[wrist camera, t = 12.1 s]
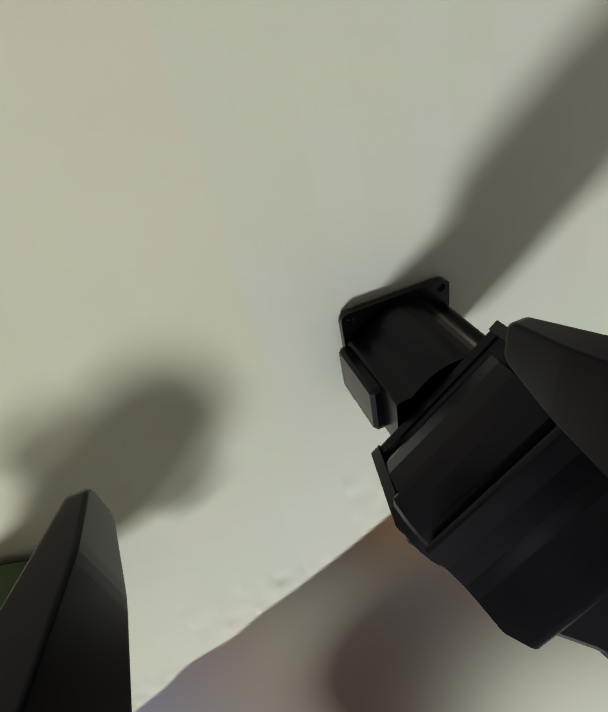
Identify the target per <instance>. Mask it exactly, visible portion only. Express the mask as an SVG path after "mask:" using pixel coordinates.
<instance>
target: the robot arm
mask: <svg viewBox="0 0 608 712" xmlns="http://www.w3.org/2000/svg"><path fill="white" fill-rule="evenodd" d="M440 284H441V286H440V287H439V288H438V286H439V285H440ZM437 288H438V289H437ZM349 317H351V319H350V320H349V321H348V322H346V320H347V319H348V318H349ZM339 326H340V332H341V338H342V344H343V348H341V349H340V352H339V356H340V361H341V367H342V373H343V378H344V383H345V385H346V387H347V388H348V390H349V391H350V393H351V395H352V397H353V398H354V400H356V402H357V403H358V405H359V406H360V408H361V409H362V411H363V412H364V414H365V415H366V417H367V418H368V420H369V421H370V423H371V424H372V426H373V427H375V428H377V429H380V428H383V427H385V428H386V429H387V431H388V432H389V433H390V435H391V436H390V437H389V438H388V439H387V440H386V441H385V442H384V443H383V444H382V445H381V446H378V447H377V448H376V449H375V450H374V451H373V452H372V453H371V454H372V457H373V460H374V463H375V466H376V469H377V472H378V475H379V478H380V481H381V484H382V487H383V490H384V493H385V496H386V499H387V502H388V505H389V508H390V511H391V513H392V516H393V519H394V522H395V525H396V527H397V528H398V529H399V530H400V531H401V532H402V533H403V534H404V536H405V538H406V540H407V541H408V542H409V543H410V544H411V545H412V546H415V547H416V548H417V549H418V550H419V551H420V552H421V553H422V554H424V555H425V556H426V557H428V558H429V559H430V560H431V561H433V562H435V563H436V564H438V565H440V566H442V567H445V568H446V569H447V570H448V571H449V572H450V573H451V574H452V575H453V576H454V577H456V579H457V580H458V581H459V582H461V583H462V585H464V586H465V588H466V589H467V590H468V591H469V592H470V593H471V594H472V596H473V597H474V598H475V599H476V600H477V601H478V602H479V604H480V605H481V606H482V607H483V609H484V610H485V611H486V612H487V613H488V614H489V616H490V617H491V618H492V619H493V621H494V622H495V623H496V624H497V625H498V627H499V628H500V629H501V630H502V631H503V632H504V633H505V634H507V635H509V636H511V637H512V638H514V639H516V640H518V641H520V642H521V643H523V644H525V645H527V646H529V647H531V648H534V649H539V648H540V647H542V646H543V645H544V644H546V643H547V642H548V641H550V640H551V639H552V638H554V637H555V636H556V635H557V636H560V637H563V638H566V639H569V640H571V641H574V642H577V643H580V644H583V645H585V646H588V647H591V648H594V649H596V650H598V651H600V652H601V653H602V654H603V655H604V656H605V657H607V658H608V336H607V335H603V334H599V333H594V332H590V331H586V330H582V329H577V328H573V327H569V326H564V325H560V324H556V323H551V322H547V321H543V320H539V319H534V318H530V317H526V318H523V319H520V320H518V321H515V322H512V323H511V324H510V325H509V326H508V327H507V326H505V325H504V324H502V323H501V322H499V321H498V320H497V321H496V322H495V323H494V324H493V325H492V326H491V327H490V328H489V330H490V331H489V332H488V333H487V335H486V336H485V335H484V334H483V333H482V332H480V331H479V330H478V329H477V328H475V327H474V326H473V325H472V324H470V323H469V322H468V321H467V320H465V319H464V318H463V317H462V316H460V315H459V314H458V313H457V312H456V311H454V310H453V309H452V308H451V307H449V282H448V281H447V280H446V279H445V278H443V277H436V278H433V279H430V280H427V281H425V282H422V283H419V284H416V285H414V286H411V287H408V288H405V289H403V290H400V291H397V292H394V293H392V294H389V295H386V296H383V297H380V298H378V299H375V300H372V301H369V302H367V303H364V304H361V305H358V306H356V307H353V308H350V309H347V310H345V311H343V312H342V313H341V314H340V316H339ZM0 712H132V705H131V680H130V655H129V631H128V608H127V596H126V589H125V582H124V576H123V570H122V564H121V557H120V551H119V545H118V539H117V533H116V527H115V521H114V518H113V515H112V513H111V512H110V510H109V509H108V508H107V506H106V505H105V504H104V503H103V502H102V500H101V499H100V498H99V497H98V495H97V494H96V493H95V492H94V491H93V490H92V489H84V490H82V491H79V492H76V493H74V494H71V495H69V496H68V497H67V498H66V499H65V500H64V501H63V503H62V505H61V507H60V508H59V510H58V512H57V513H56V515H55V517H54V518H53V520H52V522H51V524H50V525H49V527H48V529H47V530H46V532H45V534H44V536H43V537H42V539H41V541H40V542H39V544H38V546H37V547H36V549H35V551H34V553H33V554H32V556H31V558H30V559H29V561H28V563H27V564H26V566H25V568H24V570H23V571H22V573H21V575H20V576H19V578H18V580H17V581H16V583H15V585H14V587H13V588H12V590H11V592H10V593H9V595H8V597H7V598H6V600H5V602H4V604H3V605H2V607H1V609H0Z"/></svg>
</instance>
